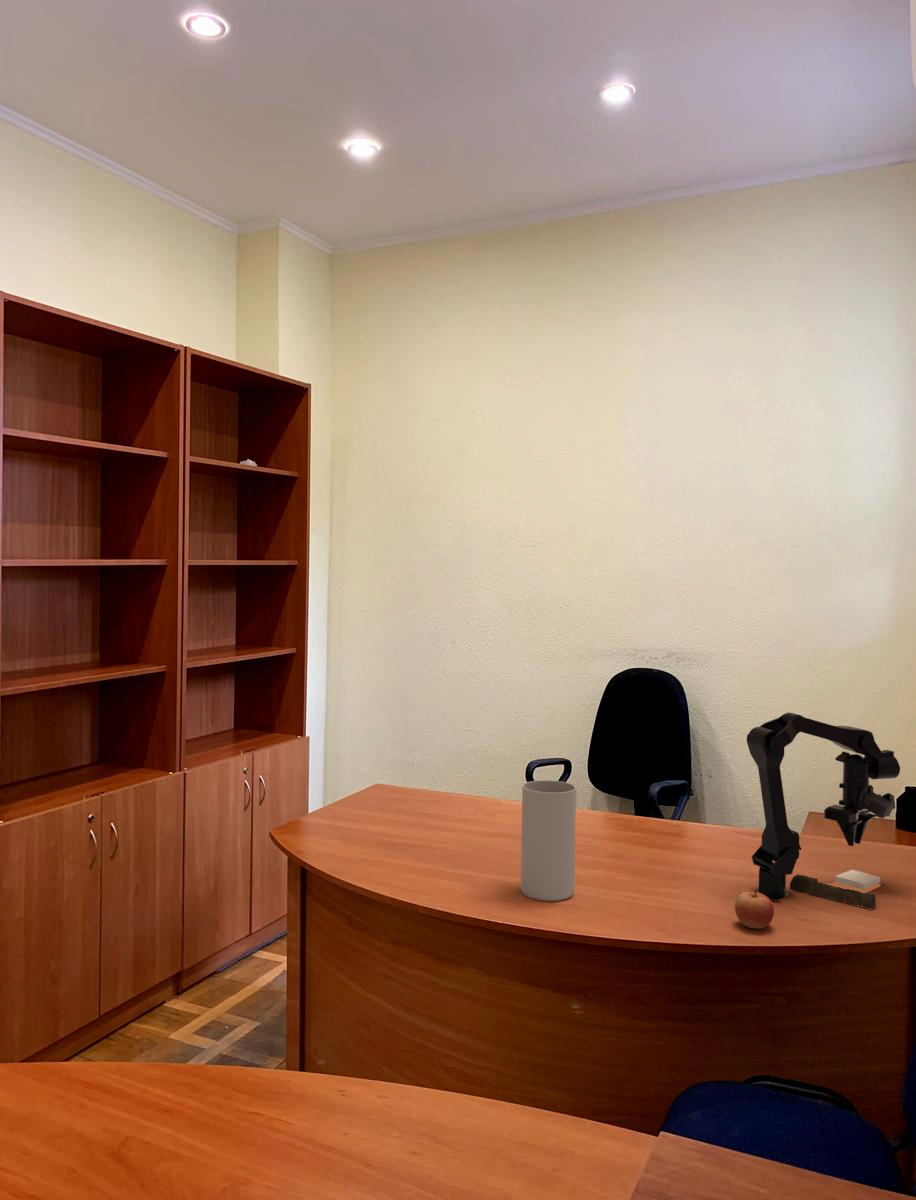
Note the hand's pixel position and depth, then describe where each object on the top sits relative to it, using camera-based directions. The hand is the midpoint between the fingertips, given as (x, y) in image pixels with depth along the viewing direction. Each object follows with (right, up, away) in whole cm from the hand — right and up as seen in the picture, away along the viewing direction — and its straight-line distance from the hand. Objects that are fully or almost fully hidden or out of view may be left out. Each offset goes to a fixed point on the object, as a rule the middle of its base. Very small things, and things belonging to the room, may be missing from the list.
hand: (854, 844), depth 218 cm
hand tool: (-9, -11, -9) cm, 17 cm away
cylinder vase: (-74, -10, -6) cm, 75 cm away
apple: (-32, -11, -25) cm, 42 cm away
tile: (-1, -9, -1) cm, 9 cm away
